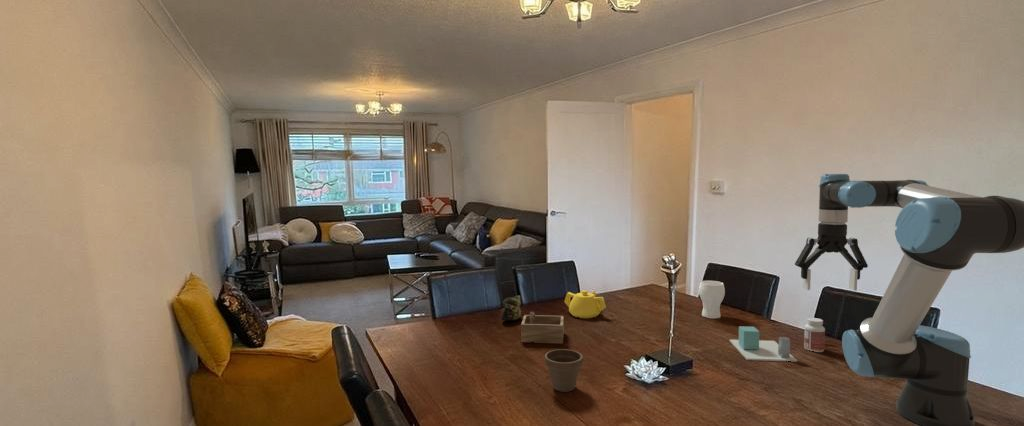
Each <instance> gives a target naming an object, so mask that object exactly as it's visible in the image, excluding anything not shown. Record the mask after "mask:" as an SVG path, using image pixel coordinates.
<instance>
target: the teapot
mask: <svg viewBox="0 0 1024 426" xmlns="http://www.w3.org/2000/svg"><path fill="white" fill-rule="evenodd" d="M571 298H572V299H571ZM605 302H606V301H605V299H604V296H597V292H595V291H591V292H589V291H588V290H585V289H584V290H583V289H582V290H581V292H578V293H573V292H570V291H568V292H567V293H566V295H565V298H564V303H565V305H566V306H567V307H568V311H569V313H570V314H571V315H572V316H573V317H575V318H578V317H579V319H592V318H593V317H594V318H596V317H598V316H599V315H600V313H601V312H602V311H603V310H604V309H606V308H607V305H606V303H605ZM594 318H593V319H594Z"/></svg>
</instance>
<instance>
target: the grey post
mask: <svg viewBox="0 0 1024 426" xmlns="http://www.w3.org/2000/svg"><path fill="white" fill-rule="evenodd" d="M778 344H779V345H778V355H779V356H780V357H781V358H790V354H791V339H790V338H789V337H787V336H779V337H778Z"/></svg>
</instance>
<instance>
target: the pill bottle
mask: <svg viewBox="0 0 1024 426" xmlns="http://www.w3.org/2000/svg"><path fill="white" fill-rule="evenodd" d="M806 322H807V323H806V324H805V326H804V335H803V336H804V338H803V339H804V341H803V348H804V349H805V350H806V349H807V350H806V351H809V350H810V352H812V351H814V352H813V353H823V352H824V351H825V344H826V343H825V341H826V338H825V337H826V328H825V327H824V326H823V324H824V320H823V319H822V318H816V317H808V318H807V320H806Z"/></svg>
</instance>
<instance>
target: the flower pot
mask: <svg viewBox="0 0 1024 426" xmlns="http://www.w3.org/2000/svg"><path fill="white" fill-rule="evenodd" d="M583 358H584V356H583V354H582V353H581V352H579V351H576V350H572V349H569V348H568V349H565V348H563V349H560V348H558V349H554V350H553V349H552V350H550V351H547V352H546V353H545V355H544V362H545V366H547V368H548V371H549V376H550V380H551V384H552V388H553V390H556V391H557V392H561V393H568V392H571V391H573V390H574V389H575V387H576V384H577V380H578V376H579V371H580V368H581V367H582V366H583V364H584V362H583V361H584V359H583Z"/></svg>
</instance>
